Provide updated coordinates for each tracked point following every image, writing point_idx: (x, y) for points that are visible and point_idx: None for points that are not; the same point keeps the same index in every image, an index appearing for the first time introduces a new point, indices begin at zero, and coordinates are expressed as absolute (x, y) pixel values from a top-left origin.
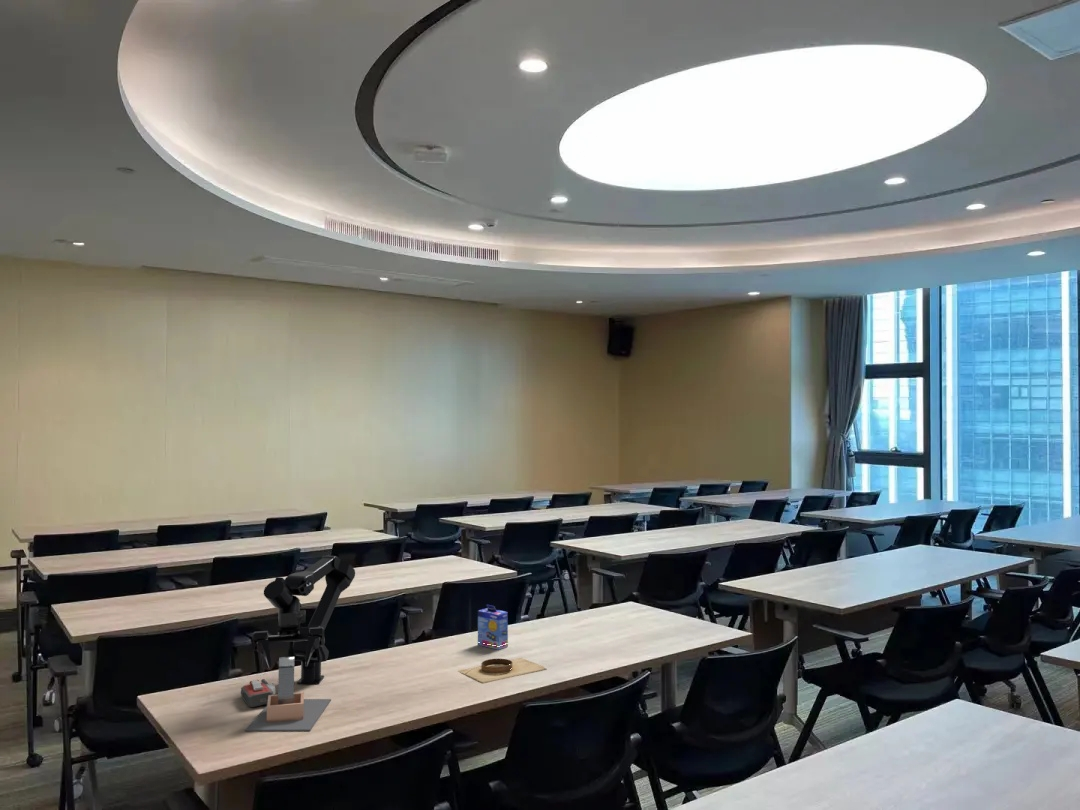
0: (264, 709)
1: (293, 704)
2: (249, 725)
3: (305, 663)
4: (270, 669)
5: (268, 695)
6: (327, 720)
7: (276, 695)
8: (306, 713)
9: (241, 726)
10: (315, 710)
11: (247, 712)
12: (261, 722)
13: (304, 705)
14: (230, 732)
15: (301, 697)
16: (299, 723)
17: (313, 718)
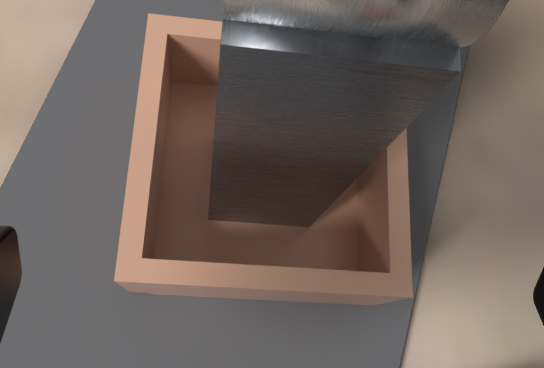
0: (397, 338)
1: (221, 22)
2: (456, 83)
3: (3, 298)
4: (537, 286)
5: (412, 292)
6: (12, 35)
7: (348, 271)
8: (124, 164)
9: (494, 115)
10: (56, 200)
11: (497, 346)
12: None
13: (117, 336)
14: (533, 53)
15: (148, 149)
16: (185, 16)
17: (93, 62)
